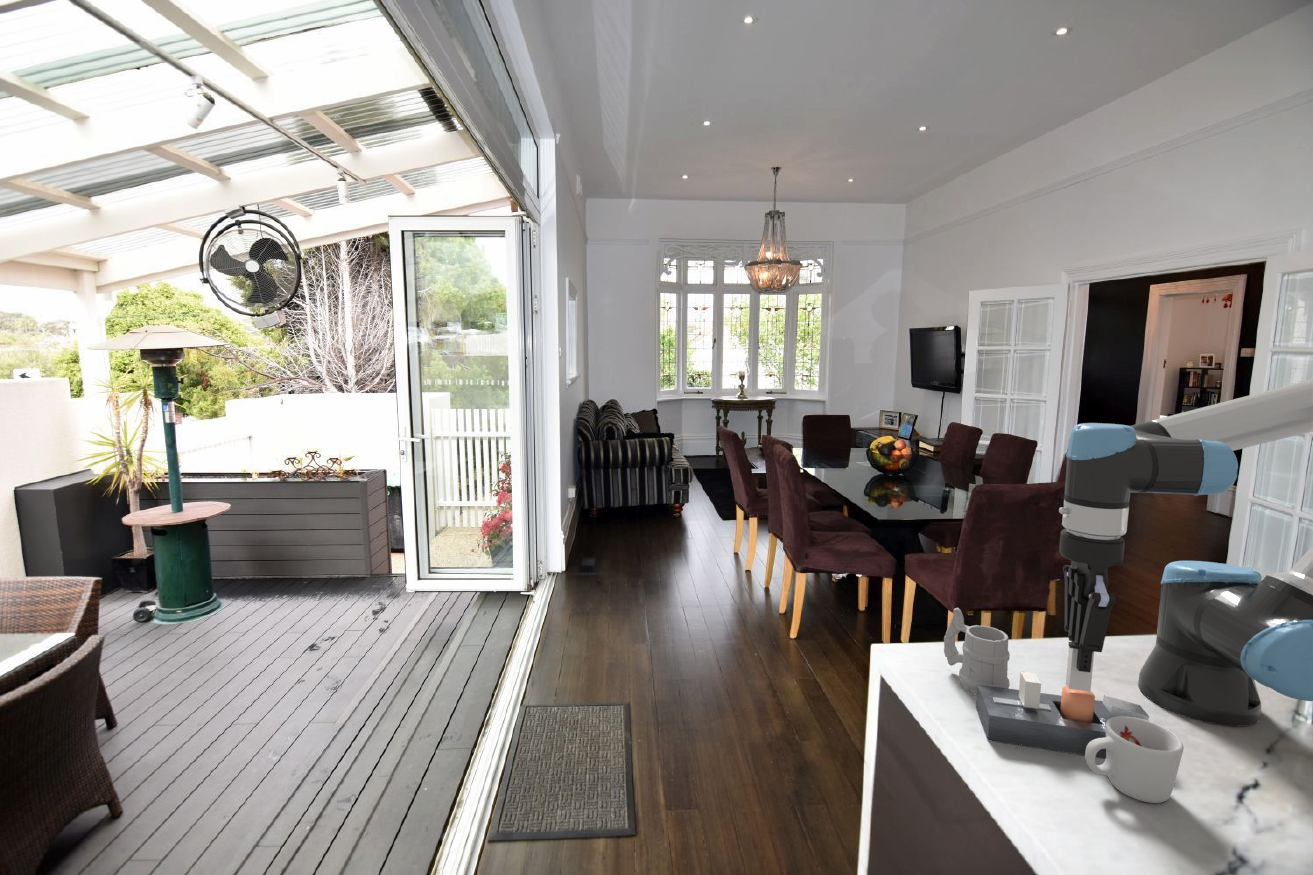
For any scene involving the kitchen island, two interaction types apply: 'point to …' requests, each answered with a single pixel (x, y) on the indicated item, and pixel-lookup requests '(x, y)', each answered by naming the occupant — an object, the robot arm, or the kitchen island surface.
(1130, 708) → the rocker
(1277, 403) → the robot arm
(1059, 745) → the console
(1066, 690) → the button
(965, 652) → the mug
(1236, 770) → the kitchen island surface
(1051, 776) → the kitchen island surface
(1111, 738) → the cup
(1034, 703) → the slider
